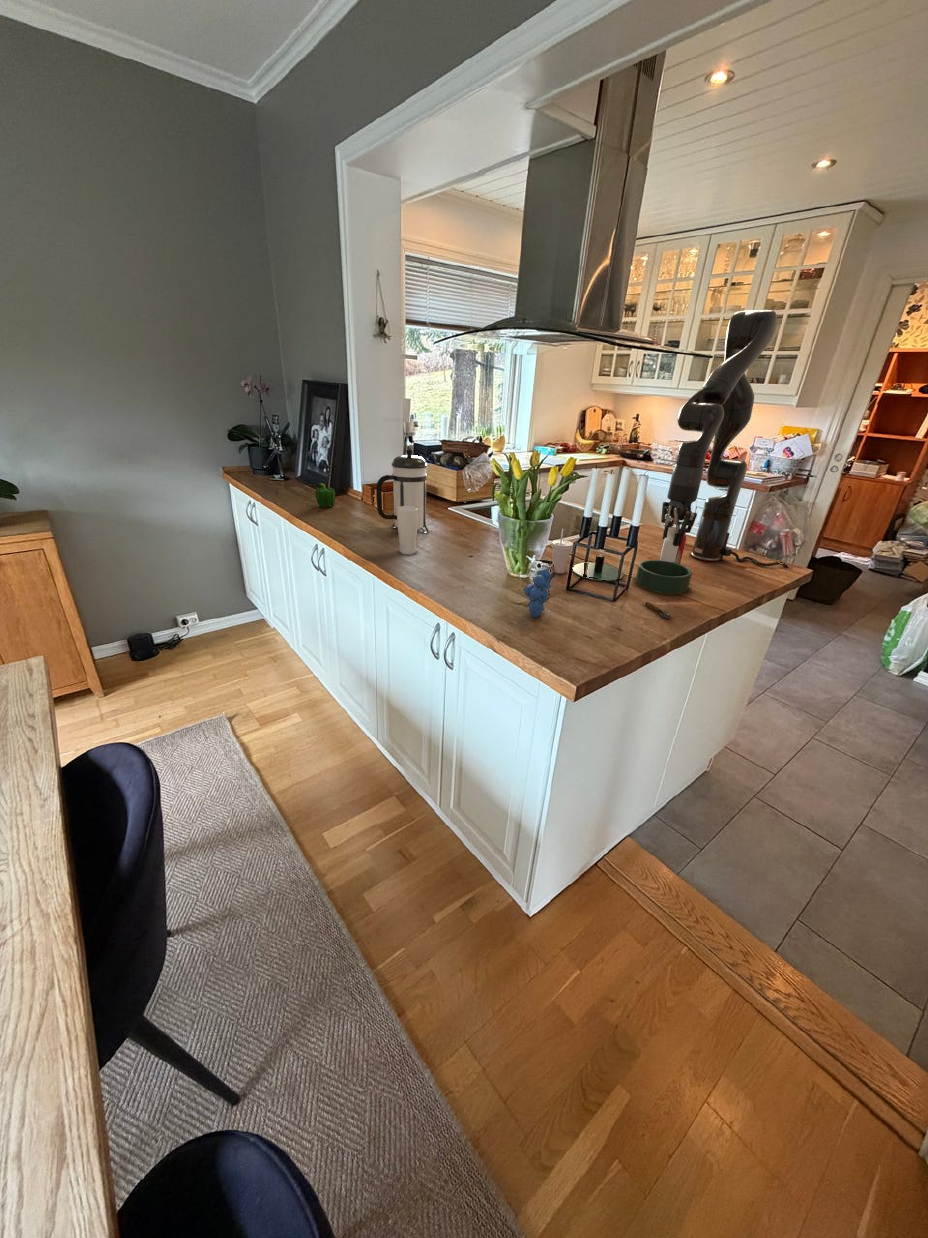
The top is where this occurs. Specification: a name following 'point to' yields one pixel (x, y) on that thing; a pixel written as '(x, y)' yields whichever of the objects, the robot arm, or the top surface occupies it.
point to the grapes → (538, 592)
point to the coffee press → (406, 487)
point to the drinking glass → (407, 528)
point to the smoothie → (561, 553)
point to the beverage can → (680, 550)
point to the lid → (598, 570)
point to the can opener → (657, 610)
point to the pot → (663, 576)
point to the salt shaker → (669, 546)
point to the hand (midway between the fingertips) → (671, 542)
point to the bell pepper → (325, 496)
